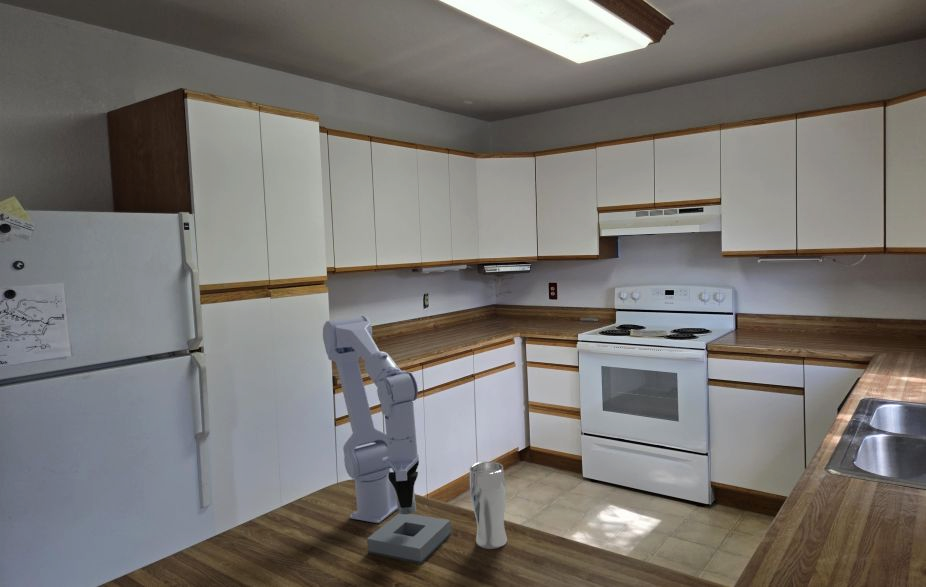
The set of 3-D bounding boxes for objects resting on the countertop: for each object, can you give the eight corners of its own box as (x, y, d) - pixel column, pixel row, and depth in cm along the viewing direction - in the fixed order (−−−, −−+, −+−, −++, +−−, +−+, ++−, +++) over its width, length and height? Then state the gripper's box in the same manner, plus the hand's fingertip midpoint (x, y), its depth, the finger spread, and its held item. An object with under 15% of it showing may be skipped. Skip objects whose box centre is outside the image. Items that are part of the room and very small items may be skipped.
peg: (398, 507, 125) (394, 473, 124) (416, 505, 125) (412, 471, 125) (397, 515, 122) (393, 480, 121) (416, 513, 122) (412, 478, 121)
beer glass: (515, 544, 121) (510, 469, 119) (482, 553, 118) (476, 477, 117) (500, 529, 127) (495, 458, 126) (468, 538, 125) (463, 465, 123)
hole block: (401, 525, 132) (400, 512, 132) (451, 534, 127) (450, 520, 126) (368, 553, 122) (366, 538, 121) (421, 564, 116) (419, 548, 116)
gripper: (383, 425, 129) (389, 488, 130) (377, 449, 115) (383, 520, 116) (418, 422, 129) (423, 486, 131) (415, 446, 115) (421, 517, 116)
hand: (406, 502), depth 123 cm, fingers closed on peg, 4 cm apart
